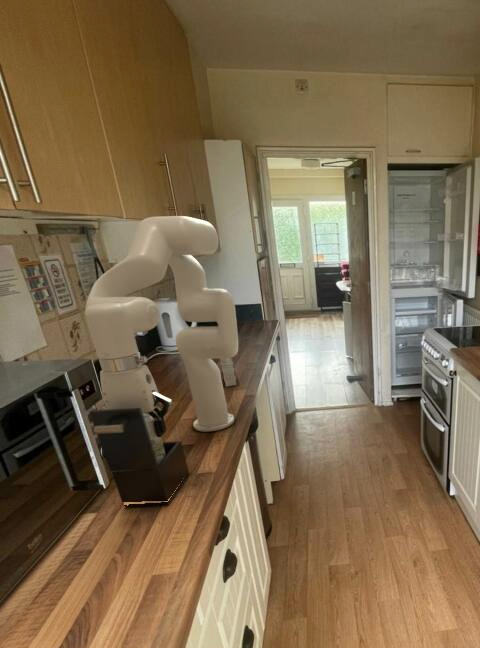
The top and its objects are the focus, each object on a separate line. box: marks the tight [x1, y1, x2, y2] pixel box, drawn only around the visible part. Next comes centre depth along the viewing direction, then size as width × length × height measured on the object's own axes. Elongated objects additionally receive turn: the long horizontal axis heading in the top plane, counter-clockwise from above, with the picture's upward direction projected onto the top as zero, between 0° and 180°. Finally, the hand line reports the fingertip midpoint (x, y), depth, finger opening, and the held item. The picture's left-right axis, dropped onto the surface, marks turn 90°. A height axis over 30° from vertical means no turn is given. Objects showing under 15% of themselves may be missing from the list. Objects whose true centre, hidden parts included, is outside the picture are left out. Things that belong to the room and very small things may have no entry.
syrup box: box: [143, 413, 166, 465], centre depth 100 cm, size 6×6×14 cm
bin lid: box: [88, 408, 159, 472], centre depth 89 cm, size 14×10×5 cm
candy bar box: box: [218, 357, 238, 388], centre depth 173 cm, size 11×5×16 cm, turn 22°
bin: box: [111, 440, 190, 509], centre depth 103 cm, size 14×10×10 cm
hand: (142, 435), depth 98 cm, fingers closed on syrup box, 8 cm apart
